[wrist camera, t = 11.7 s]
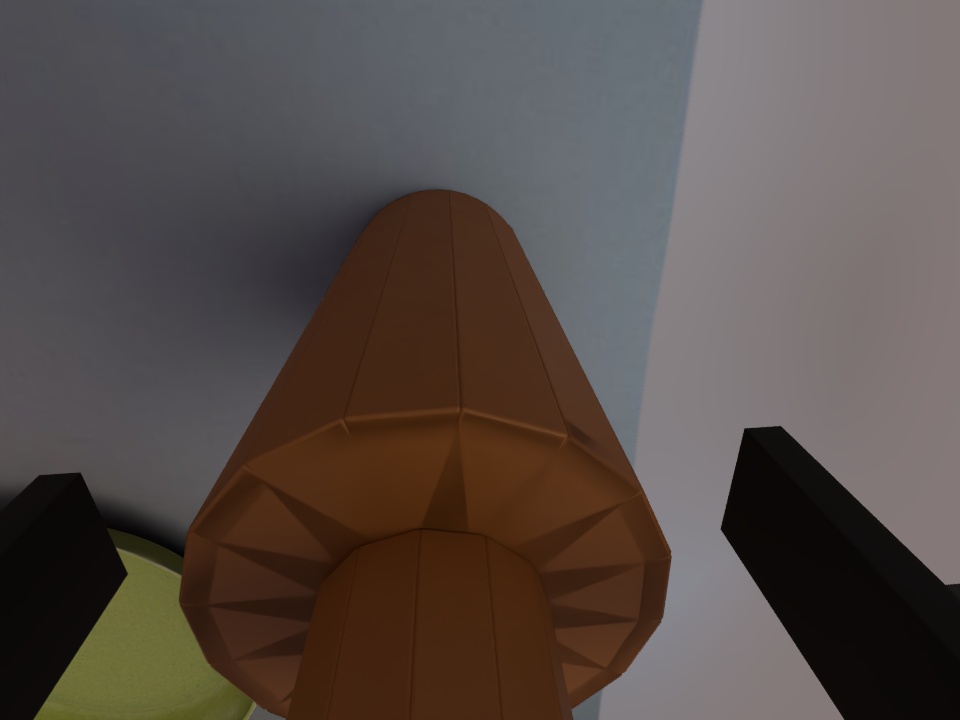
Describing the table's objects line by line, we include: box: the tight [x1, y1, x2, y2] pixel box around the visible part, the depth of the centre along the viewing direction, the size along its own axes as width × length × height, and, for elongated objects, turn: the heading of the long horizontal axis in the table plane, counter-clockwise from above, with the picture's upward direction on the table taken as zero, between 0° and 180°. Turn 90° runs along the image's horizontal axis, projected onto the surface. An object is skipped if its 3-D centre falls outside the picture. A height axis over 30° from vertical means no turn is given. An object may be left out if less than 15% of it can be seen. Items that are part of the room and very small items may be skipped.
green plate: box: [34, 528, 257, 720], centre depth 31 cm, size 21×21×3 cm
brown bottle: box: [179, 190, 671, 720], centre depth 13 cm, size 8×8×23 cm
